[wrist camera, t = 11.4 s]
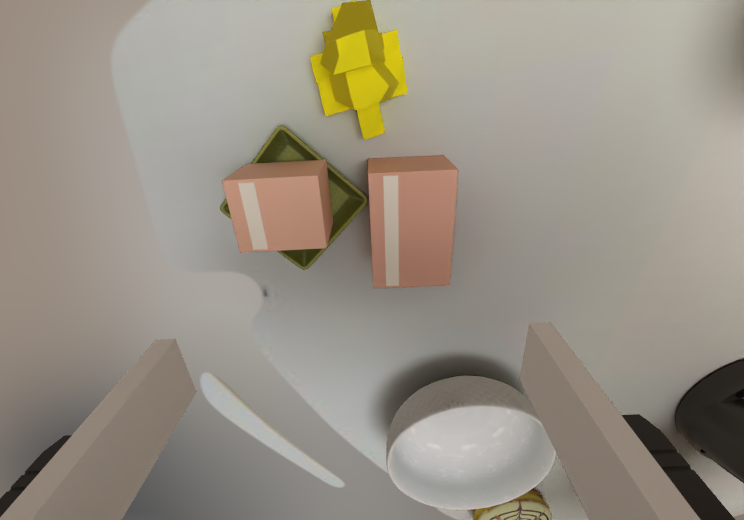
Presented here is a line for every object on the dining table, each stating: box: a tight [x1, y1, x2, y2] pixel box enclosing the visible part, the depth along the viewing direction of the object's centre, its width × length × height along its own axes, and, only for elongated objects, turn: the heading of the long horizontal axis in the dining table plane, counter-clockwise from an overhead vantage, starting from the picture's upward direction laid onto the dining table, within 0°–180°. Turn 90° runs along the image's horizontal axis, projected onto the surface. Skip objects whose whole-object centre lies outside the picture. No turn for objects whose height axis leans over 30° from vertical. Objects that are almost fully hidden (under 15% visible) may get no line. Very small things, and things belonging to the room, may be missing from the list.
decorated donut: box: [474, 489, 552, 520], centre depth 49 cm, size 10×11×4 cm
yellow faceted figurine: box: [310, 0, 408, 140], centre depth 21 cm, size 6×8×8 cm
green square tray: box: [220, 125, 368, 270], centre depth 28 cm, size 9×9×2 cm
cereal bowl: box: [386, 376, 556, 510], centre depth 37 cm, size 17×17×7 cm
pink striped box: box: [368, 155, 458, 288], centre depth 27 cm, size 10×6×5 cm, turn 2°
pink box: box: [222, 160, 333, 253], centre depth 25 cm, size 5×6×5 cm
